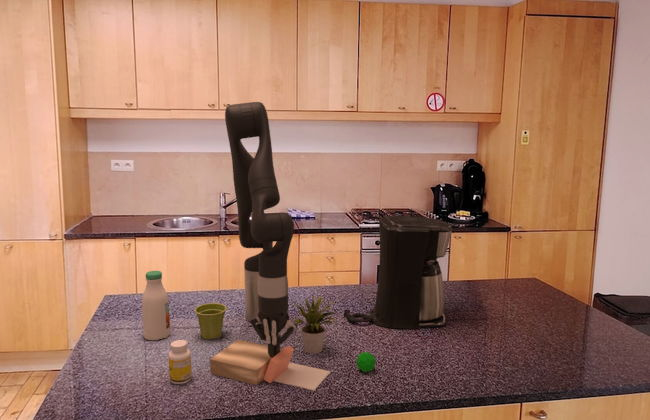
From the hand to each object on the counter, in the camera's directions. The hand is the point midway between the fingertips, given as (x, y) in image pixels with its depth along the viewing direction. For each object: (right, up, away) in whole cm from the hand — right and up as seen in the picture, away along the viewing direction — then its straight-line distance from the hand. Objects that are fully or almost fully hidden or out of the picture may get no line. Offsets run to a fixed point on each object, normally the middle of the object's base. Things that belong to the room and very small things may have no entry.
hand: (273, 356), depth 129 cm
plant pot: (-21, -1, +25) cm, 33 cm away
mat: (+7, -5, 0) cm, 9 cm away
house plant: (+9, -3, +14) cm, 17 cm away
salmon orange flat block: (+1, -1, 0) cm, 1 cm away
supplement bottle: (-23, -6, -2) cm, 24 cm away
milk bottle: (-38, -1, +24) cm, 45 cm away
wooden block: (-8, -4, +4) cm, 10 cm away
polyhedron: (+24, -5, +4) cm, 25 cm away
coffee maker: (+38, +2, +42) cm, 56 cm away
